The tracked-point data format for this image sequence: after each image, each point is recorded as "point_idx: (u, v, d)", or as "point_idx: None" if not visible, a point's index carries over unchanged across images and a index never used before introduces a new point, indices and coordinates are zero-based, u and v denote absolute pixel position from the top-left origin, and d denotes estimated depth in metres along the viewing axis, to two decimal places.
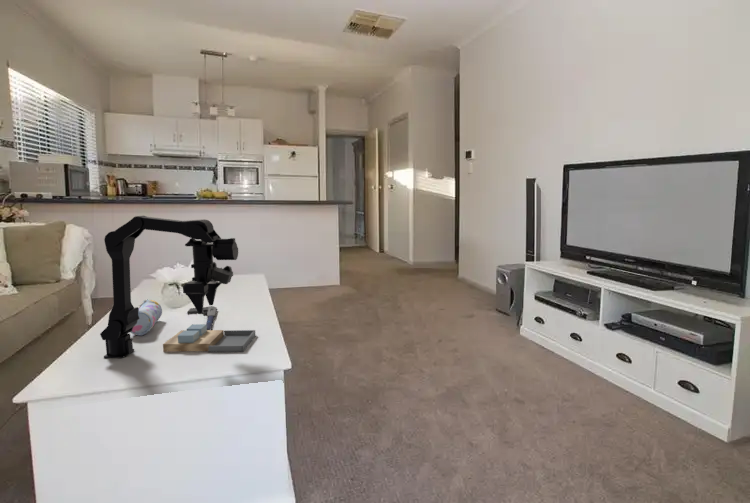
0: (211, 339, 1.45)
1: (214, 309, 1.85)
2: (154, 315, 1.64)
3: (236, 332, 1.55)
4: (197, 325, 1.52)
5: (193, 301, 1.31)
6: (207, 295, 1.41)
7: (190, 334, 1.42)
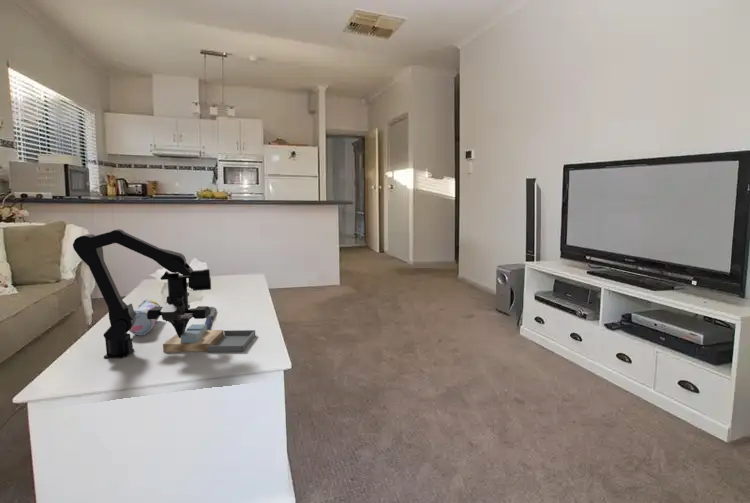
0: (211, 339, 1.45)
1: (213, 310, 1.84)
2: None
3: (236, 332, 1.55)
4: (197, 325, 1.52)
5: None
6: None
7: (193, 334, 1.42)
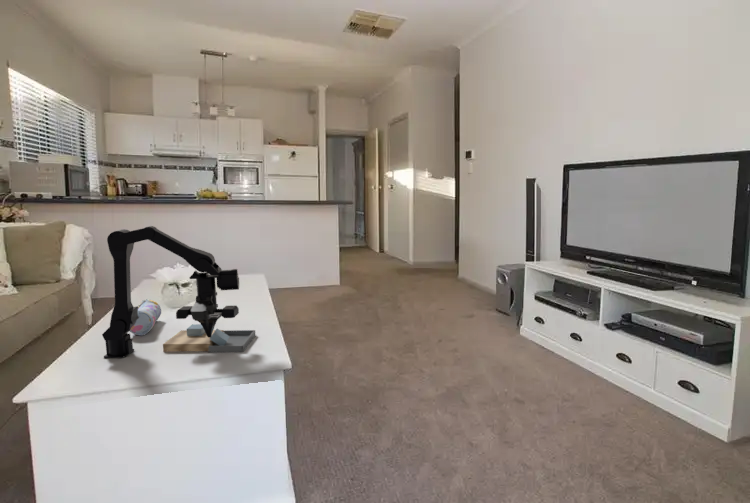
0: None
1: None
2: (154, 315, 1.64)
3: (236, 332, 1.55)
4: (197, 325, 1.52)
5: None
6: None
7: (224, 338, 1.44)
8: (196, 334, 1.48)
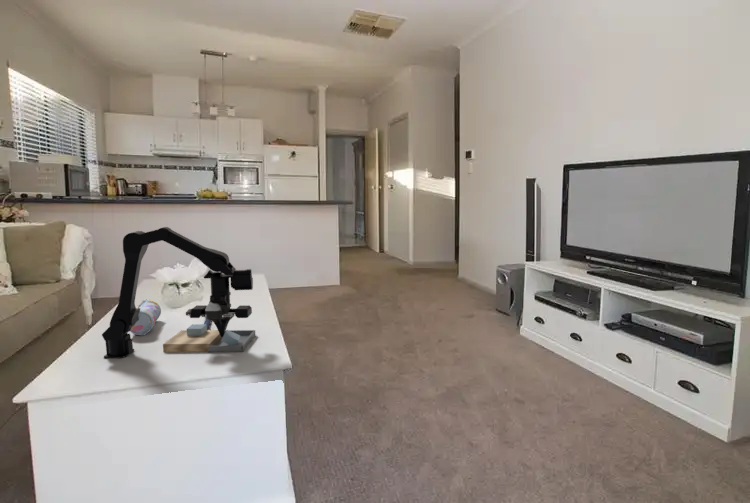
0: (211, 339, 1.45)
1: None
2: (154, 315, 1.64)
3: (236, 332, 1.55)
4: (197, 325, 1.52)
5: None
6: None
7: (235, 337, 1.44)
8: (196, 334, 1.48)
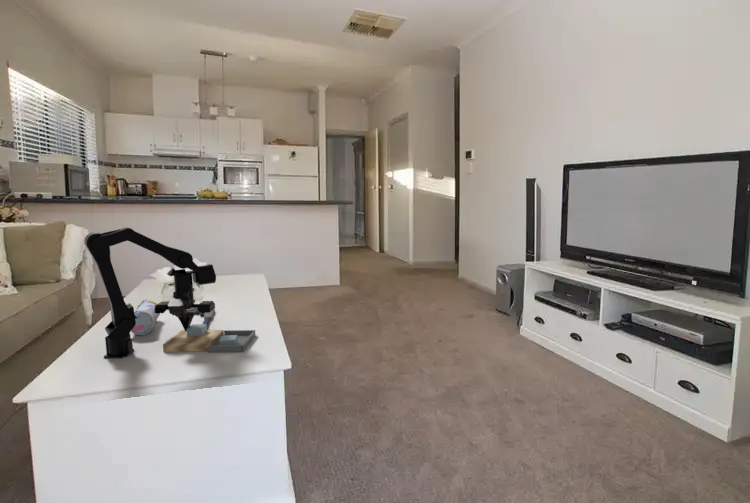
0: (211, 339, 1.45)
1: None
2: (154, 315, 1.64)
3: (236, 332, 1.55)
4: (198, 325, 1.52)
5: None
6: None
7: (231, 339, 1.44)
8: (196, 334, 1.48)
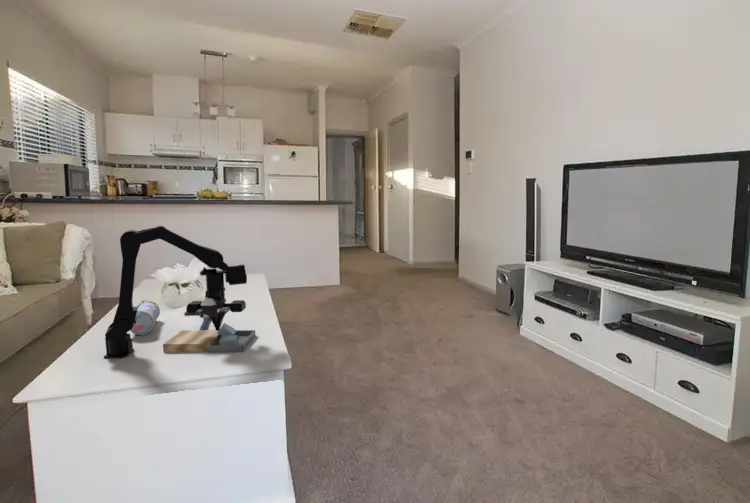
0: (211, 339, 1.45)
1: None
2: (154, 315, 1.64)
3: (236, 332, 1.55)
4: (229, 326, 1.53)
5: None
6: None
7: (231, 339, 1.44)
8: None
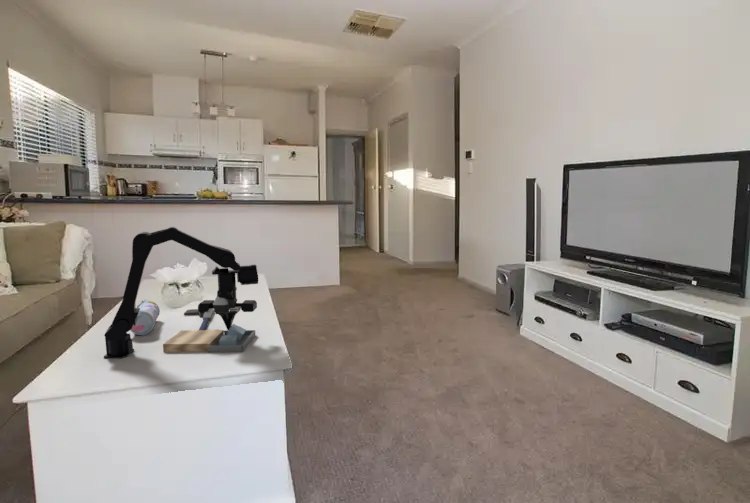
0: (211, 339, 1.45)
1: (211, 311, 1.82)
2: (154, 315, 1.64)
3: None
4: (238, 327, 1.53)
5: None
6: None
7: (231, 339, 1.44)
8: None
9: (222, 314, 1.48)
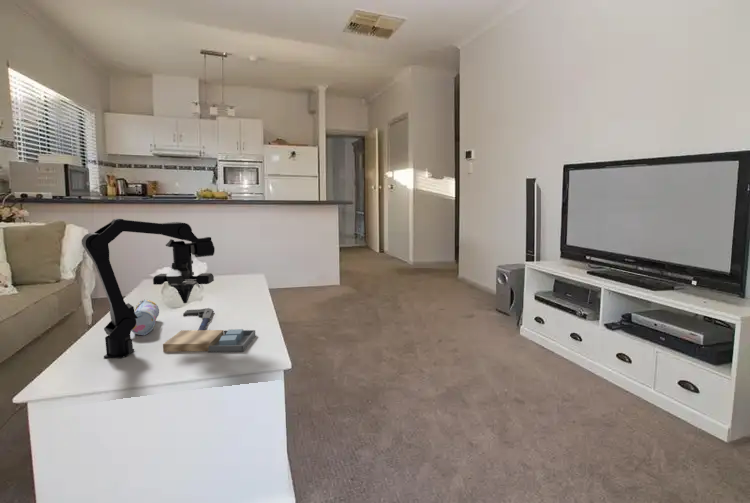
0: (211, 339, 1.45)
1: (210, 311, 1.82)
2: (154, 315, 1.64)
3: None
4: (234, 330, 1.53)
5: None
6: None
7: (231, 339, 1.44)
8: None
9: (177, 287, 1.48)
